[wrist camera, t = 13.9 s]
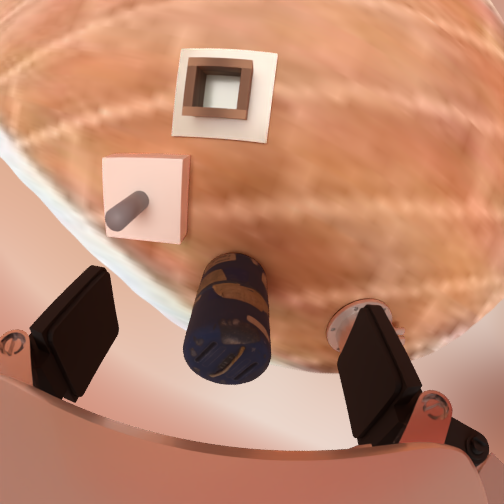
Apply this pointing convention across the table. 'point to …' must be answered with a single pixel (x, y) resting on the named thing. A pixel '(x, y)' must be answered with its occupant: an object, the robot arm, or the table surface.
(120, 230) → the post stand
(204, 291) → the canister
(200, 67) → the hollow wooden box
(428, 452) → the robot arm
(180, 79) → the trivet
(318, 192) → the table surface
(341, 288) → the table surface
